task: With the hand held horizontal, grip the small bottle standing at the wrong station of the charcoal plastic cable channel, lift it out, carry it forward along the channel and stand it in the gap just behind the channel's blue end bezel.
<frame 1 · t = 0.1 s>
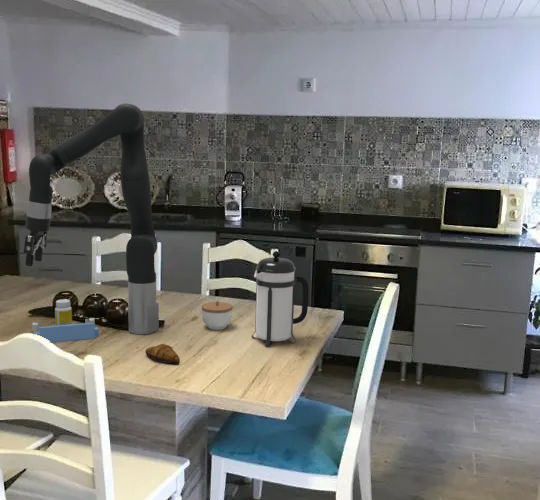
hand: (33, 263, 217), 22 cm above the table, tool pointing down, fingers open, 8 cm apart
coffee press: (276, 340, 216), on the table
supplement bottle: (63, 328, 221), resting in blue pegged rail
lidded jar: (216, 327, 228), on the table
croissant: (162, 360, 194), on the table
blue pegged rail: (65, 332, 217), on the table
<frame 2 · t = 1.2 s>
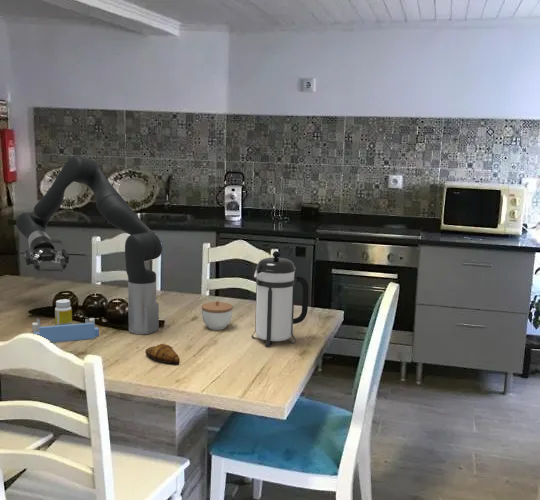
hand: (51, 267, 222), 20 cm above the table, tool tilted 70°, fingers open, 8 cm apart
nothing on the table moved.
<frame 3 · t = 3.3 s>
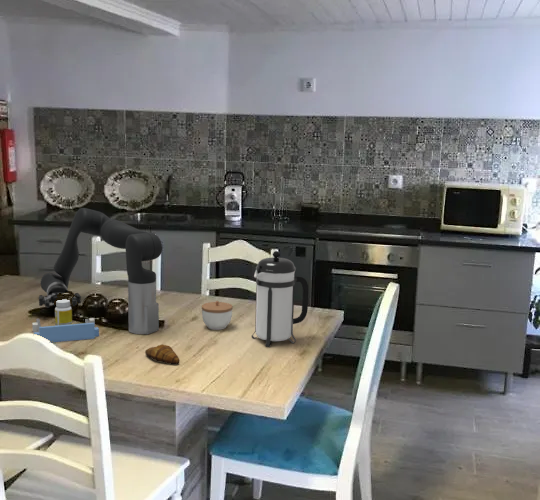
hand: (61, 304, 229), 6 cm above the table, tool horizontal, fingers open, 8 cm apart
nothing on the table moved.
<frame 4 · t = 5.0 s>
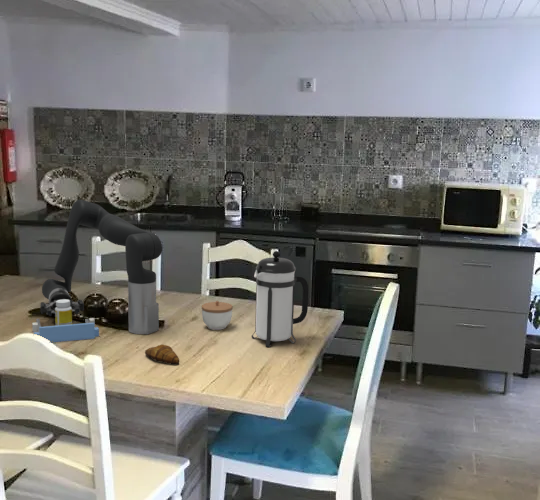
hand: (63, 312, 219), 6 cm above the table, tool horizontal, fingers open, 8 cm apart
nothing on the table moved.
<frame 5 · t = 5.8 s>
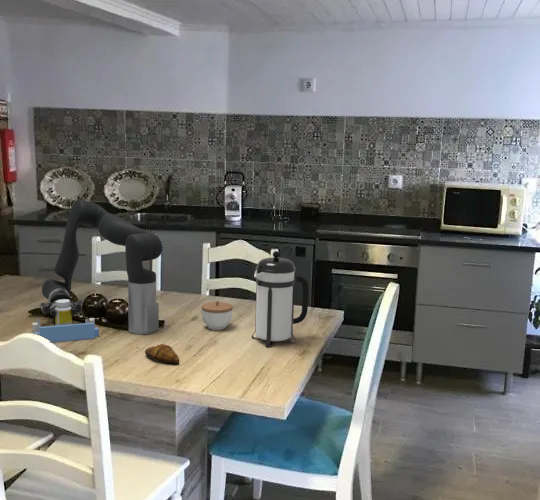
hand: (64, 313, 218), 6 cm above the table, tool horizontal, fingers closed on supplement bottle, 5 cm apart
supplement bottle: (63, 328, 221), resting in blue pegged rail, touching gripper
everything else where it was.
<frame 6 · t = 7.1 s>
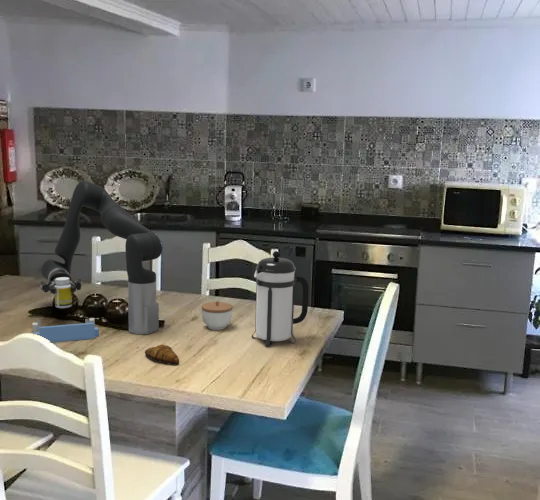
hand: (63, 290, 216), 14 cm above the table, tool horizontal, fingers closed on supplement bottle, 5 cm apart
supplement bottle: (63, 306, 220), point 8 cm above the table, touching gripper
everything else where it was.
when the fingers open (7 cm above the table, at t = 11.8 s): supplement bottle stays where it is, resting in blue pegged rail.
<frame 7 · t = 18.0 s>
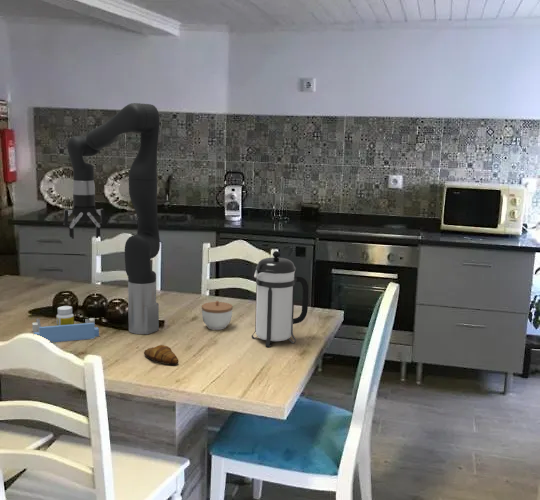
hand: (84, 238, 235), 28 cm above the table, tool pointing down, fingers open, 8 cm apart
supplement bottle: (65, 336, 213), resting in blue pegged rail
everything else where it was.
at the end: supplement bottle 0.2 cm from the target spot, resting in blue pegged rail; supplement bottle tilted 0°; the gripper is holding nothing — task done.
